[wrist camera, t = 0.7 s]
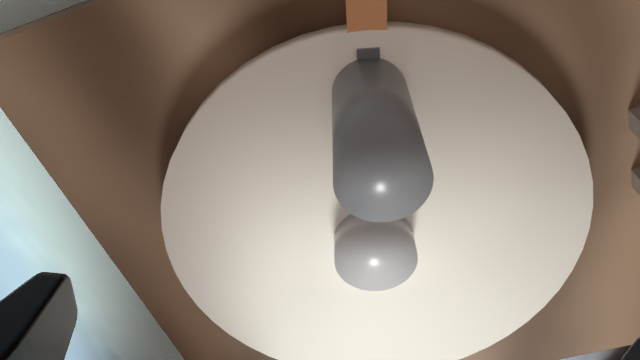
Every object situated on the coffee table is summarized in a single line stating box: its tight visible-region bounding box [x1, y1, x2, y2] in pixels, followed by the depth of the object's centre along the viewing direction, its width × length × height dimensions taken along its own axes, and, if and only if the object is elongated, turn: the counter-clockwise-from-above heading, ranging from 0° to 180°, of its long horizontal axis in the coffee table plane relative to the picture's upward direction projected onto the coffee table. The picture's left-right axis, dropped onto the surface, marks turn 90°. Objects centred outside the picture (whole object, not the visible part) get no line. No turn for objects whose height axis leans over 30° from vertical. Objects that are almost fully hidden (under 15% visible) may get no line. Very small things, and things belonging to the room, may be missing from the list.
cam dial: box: [161, 0, 593, 360], centre depth 18 cm, size 18×16×6 cm
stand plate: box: [0, 0, 640, 360], centre depth 21 cm, size 22×22×4 cm
